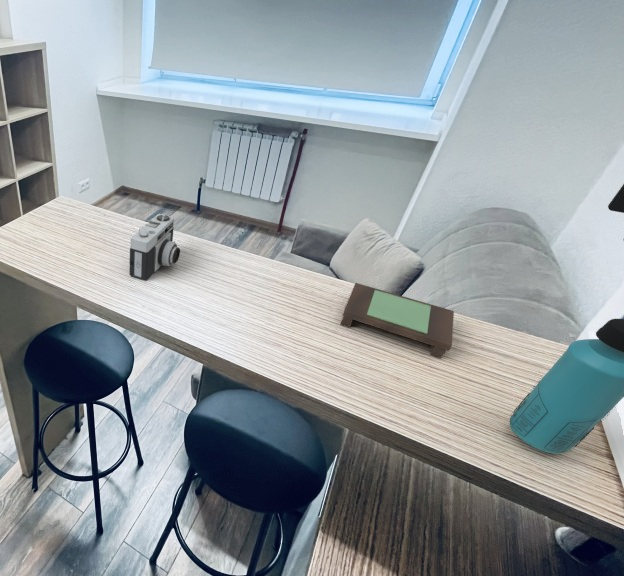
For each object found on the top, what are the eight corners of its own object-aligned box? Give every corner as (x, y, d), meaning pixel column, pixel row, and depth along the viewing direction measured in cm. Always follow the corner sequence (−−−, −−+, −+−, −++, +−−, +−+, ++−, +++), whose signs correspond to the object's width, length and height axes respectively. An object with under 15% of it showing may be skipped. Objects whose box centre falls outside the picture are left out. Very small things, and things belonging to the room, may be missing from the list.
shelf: (445, 325, 75) (454, 310, 73) (442, 361, 68) (452, 344, 65) (349, 296, 83) (355, 281, 80) (338, 325, 75) (344, 310, 73)
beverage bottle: (566, 472, 52) (693, 358, 40) (499, 444, 55) (599, 332, 43) (561, 436, 56) (674, 324, 44) (499, 412, 59) (589, 302, 48)
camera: (161, 286, 87) (164, 245, 81) (128, 276, 90) (128, 235, 84) (187, 257, 96) (191, 218, 91) (155, 248, 100) (157, 211, 94)
